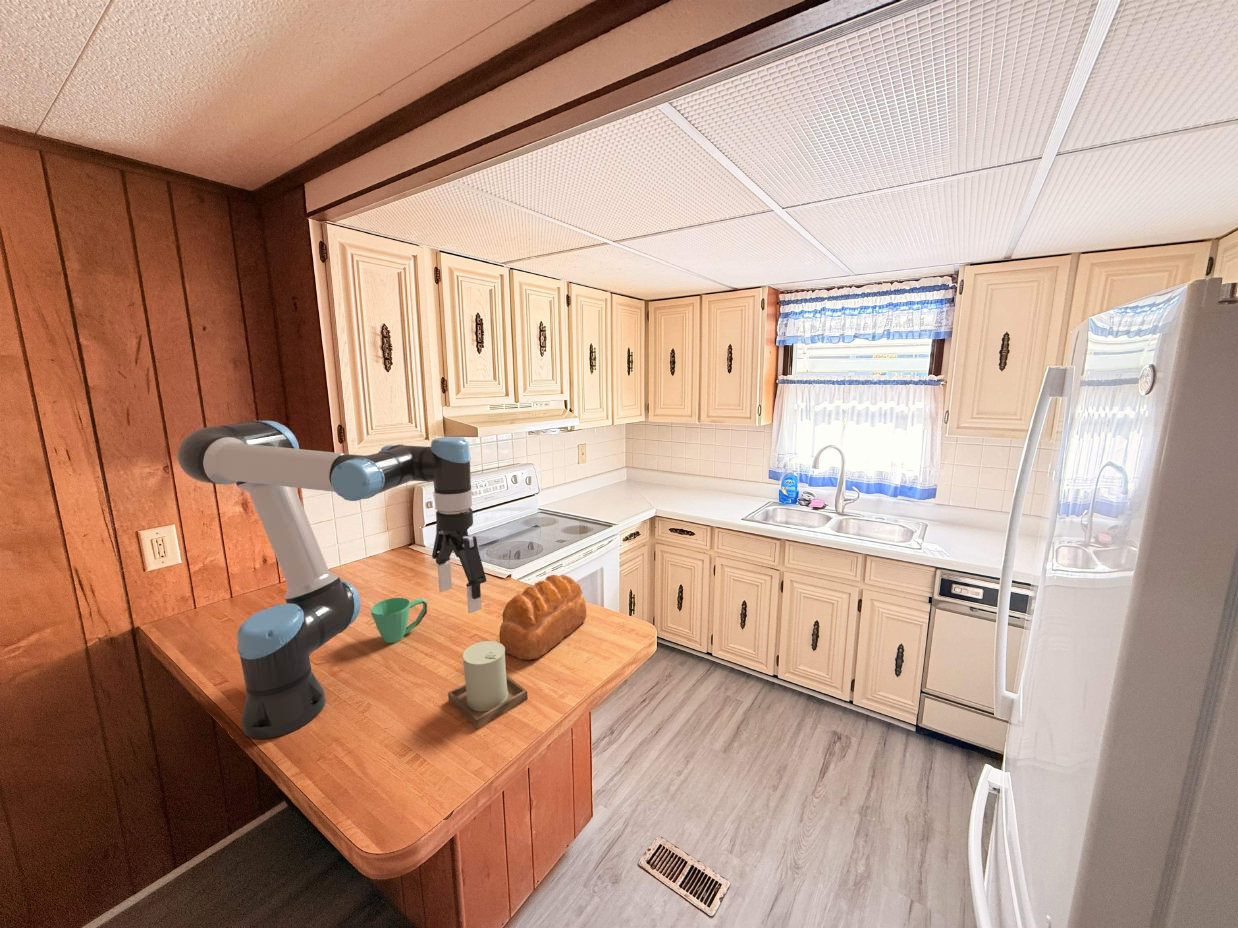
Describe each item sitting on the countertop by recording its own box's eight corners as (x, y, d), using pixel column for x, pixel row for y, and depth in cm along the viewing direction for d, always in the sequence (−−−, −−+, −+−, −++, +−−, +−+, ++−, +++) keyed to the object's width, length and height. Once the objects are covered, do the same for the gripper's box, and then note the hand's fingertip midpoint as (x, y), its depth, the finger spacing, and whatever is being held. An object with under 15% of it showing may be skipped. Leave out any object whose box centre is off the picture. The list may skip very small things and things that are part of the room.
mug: (380, 652, 128) (375, 618, 126) (371, 637, 136) (366, 604, 134) (435, 633, 137) (432, 601, 136) (424, 619, 145) (420, 589, 143)
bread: (494, 650, 129) (490, 597, 126) (555, 608, 151) (553, 562, 148) (534, 666, 122) (530, 610, 119) (592, 619, 144) (590, 571, 141)
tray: (477, 728, 101) (476, 720, 100) (448, 700, 109) (447, 692, 109) (527, 698, 109) (527, 690, 109) (497, 675, 118) (496, 667, 118)
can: (486, 717, 103) (482, 667, 101) (457, 702, 108) (453, 654, 105) (516, 692, 111) (513, 645, 108) (488, 679, 115) (485, 634, 113)
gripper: (500, 518, 98) (504, 614, 102) (444, 494, 115) (449, 577, 119) (466, 526, 92) (472, 627, 97) (412, 500, 109) (419, 586, 114)
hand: (459, 599), depth 108 cm, fingers open, 13 cm apart
